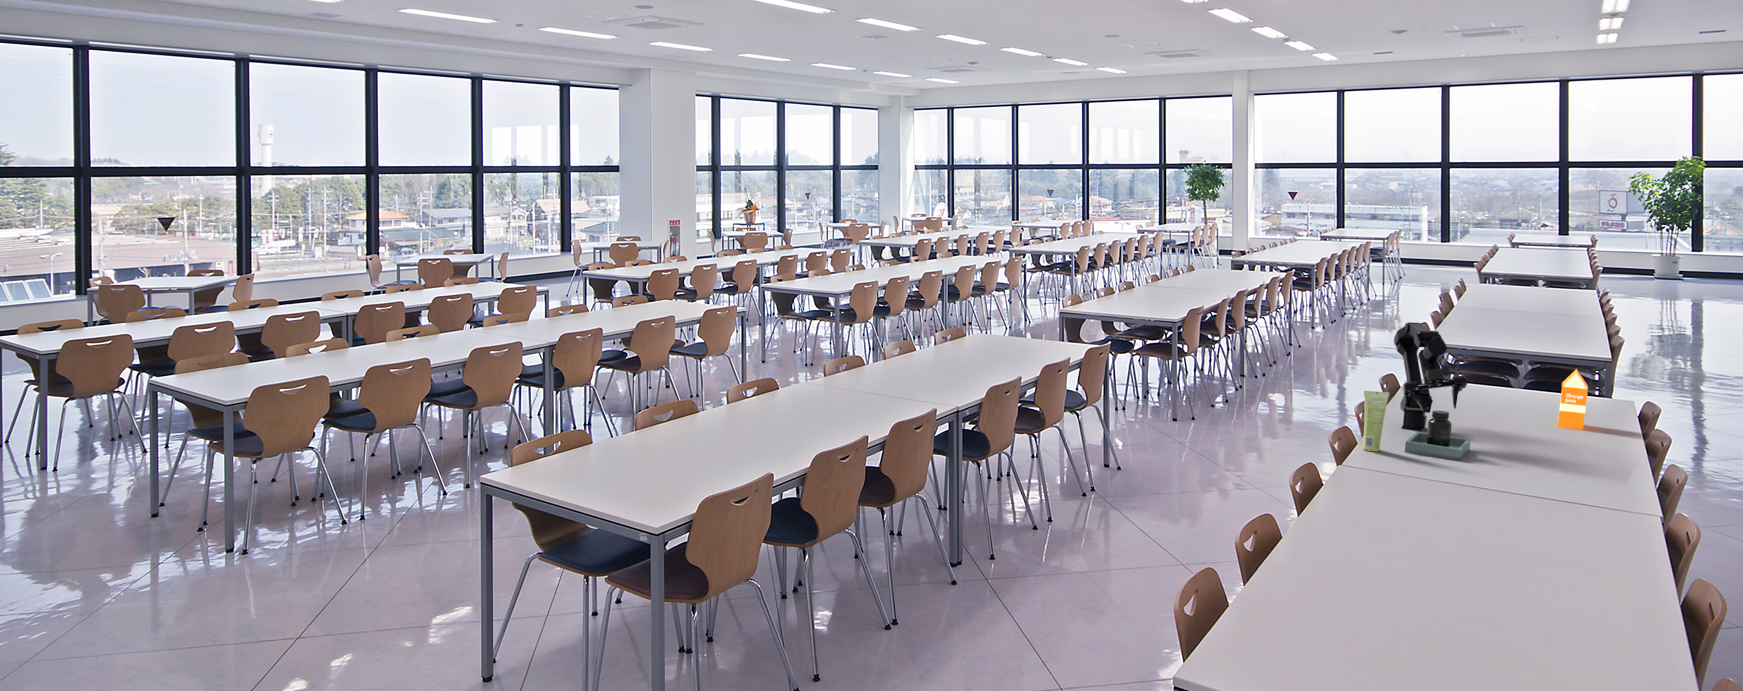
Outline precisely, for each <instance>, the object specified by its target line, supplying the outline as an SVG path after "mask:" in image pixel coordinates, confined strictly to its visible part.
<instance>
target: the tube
mask: <svg viewBox="0 0 1743 691" xmlns="http://www.w3.org/2000/svg"><path fill="white" fill-rule="evenodd" d="M1389 397H1390V391H1388V392H1386V391H1374V390H1364V391H1363V398H1364V420H1363V421H1364V422H1363V423H1364V425H1363V441H1362V450H1365V451H1368V452H1379V451H1380V447H1381V440H1382V434H1383V427H1384V422H1385V421H1384V420H1385V415H1386V409H1387V405H1388V401H1389V400H1388V399H1389Z"/></svg>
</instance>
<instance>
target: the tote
mask: <svg viewBox="0 0 1743 691" xmlns="http://www.w3.org/2000/svg"><path fill="white" fill-rule="evenodd" d="M1471 441H1472V440H1471V439H1469V438H1463V437H1457V436H1456V437H1455V436H1451V440H1450V447H1444V446H1437V445H1430V444H1427V432H1422V431H1416V432H1415V433H1414V434H1413V435H1412V436H1410V437H1409V438H1408V439H1407V440H1406V441H1405V443H1404V445H1405V446H1404V453H1407V452H1409V454H1414V453H1415V454H1416V455H1420V454H1421V456H1427V457H1433V456H1434V458H1440V457H1441V459H1446V458H1447V459H1448V460H1452V461H1453V460H1454V461H1459V460H1460V461H1461V460H1462V459H1463V458H1464V457H1465V456H1466V455H1465V454H1468V453H1469V451H1471V448H1470V447H1471ZM1415 454H1414V455H1415Z"/></svg>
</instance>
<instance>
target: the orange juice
mask: <svg viewBox="0 0 1743 691" xmlns="http://www.w3.org/2000/svg"><path fill="white" fill-rule="evenodd" d="M1588 390H1589V386H1588V384H1587V382H1586V381H1585V380H1584V378H1583V377H1582V375H1581V374H1580V372H1579V370H1578V368H1576V369H1575V370H1574V371H1573V372H1572V373H1570V374H1569V376H1568V377H1566V379H1565V380H1563V381H1562V383H1561V393H1560V395H1561V396H1560V401H1559V402H1560V403H1559V411H1558V420H1557V428H1564V429H1571V430H1572V429H1573V430H1574V429H1575V430H1580V431H1581V430H1582V431H1583V430H1584V424H1585V416H1586V415H1585V414H1586V409H1587V401H1588Z"/></svg>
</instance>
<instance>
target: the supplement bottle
mask: <svg viewBox="0 0 1743 691" xmlns="http://www.w3.org/2000/svg"><path fill="white" fill-rule="evenodd" d="M1431 414H1432V415H1431V418H1430V419H1429V420H1428V422H1427V432H1426V433H1427V444H1430V445H1437V446H1444V447H1450V440H1451V437H1452V427H1453V426H1452V422H1451V421H1450V420H1449V418H1450V412H1449V411H1445V410H1432V412H1431Z"/></svg>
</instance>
